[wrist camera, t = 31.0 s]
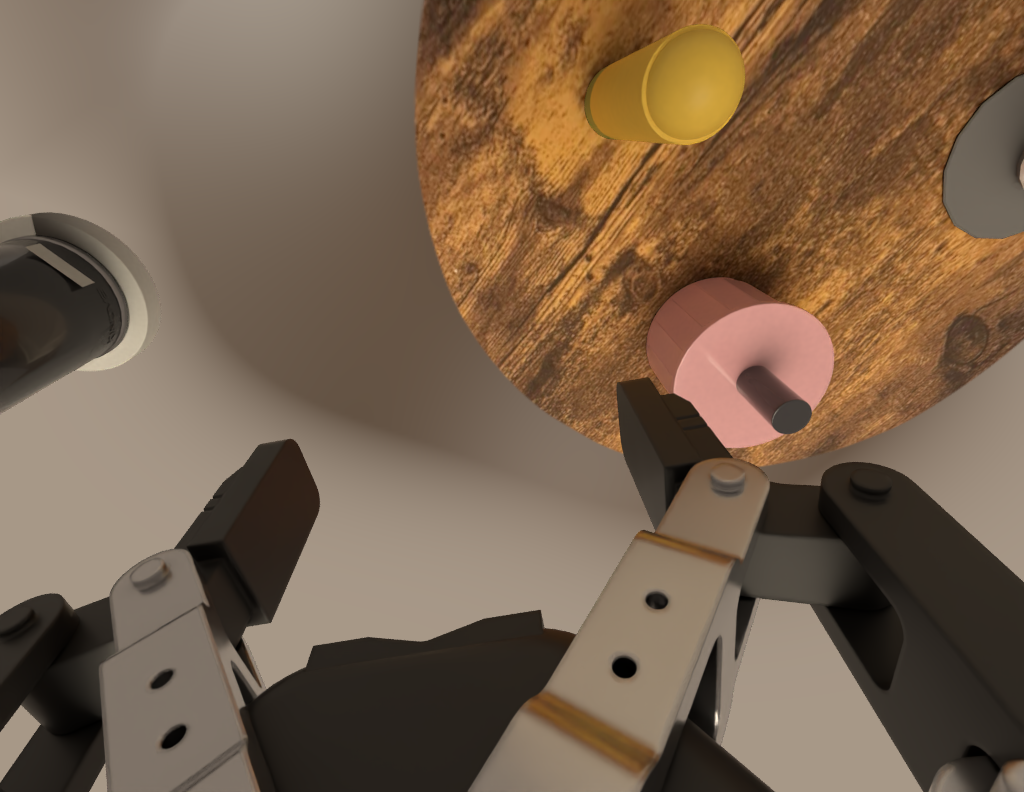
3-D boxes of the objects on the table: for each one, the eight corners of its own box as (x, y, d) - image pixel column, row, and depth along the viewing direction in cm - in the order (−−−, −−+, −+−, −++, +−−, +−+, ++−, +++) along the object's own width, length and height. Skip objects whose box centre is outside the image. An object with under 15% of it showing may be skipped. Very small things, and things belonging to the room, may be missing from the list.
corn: (577, 132, 35) (641, 134, 21) (593, 56, 33) (676, 1, 19) (639, 145, 35) (742, 155, 21) (658, 71, 33) (787, 28, 19)
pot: (631, 384, 44) (657, 430, 37) (668, 267, 39) (705, 295, 33) (741, 400, 45) (785, 447, 39) (789, 288, 41) (849, 319, 34)
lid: (648, 429, 38) (676, 480, 32) (698, 285, 33) (741, 316, 28) (784, 447, 39) (833, 499, 34) (852, 311, 34) (922, 346, 29)
